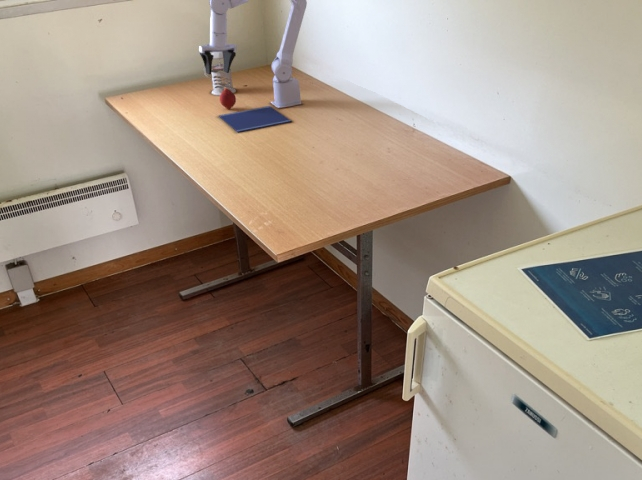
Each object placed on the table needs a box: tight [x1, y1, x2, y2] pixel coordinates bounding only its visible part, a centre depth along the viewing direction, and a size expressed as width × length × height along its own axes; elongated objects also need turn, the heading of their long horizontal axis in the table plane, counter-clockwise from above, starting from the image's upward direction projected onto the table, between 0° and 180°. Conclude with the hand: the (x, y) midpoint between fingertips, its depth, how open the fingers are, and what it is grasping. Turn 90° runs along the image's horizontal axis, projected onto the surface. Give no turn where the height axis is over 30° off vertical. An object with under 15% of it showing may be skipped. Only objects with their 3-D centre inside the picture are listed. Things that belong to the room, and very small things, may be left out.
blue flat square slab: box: [218, 105, 292, 134], centre depth 236 cm, size 20×20×1 cm
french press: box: [202, 51, 237, 96], centre depth 257 cm, size 10×12×25 cm
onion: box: [219, 87, 237, 110], centre depth 244 cm, size 6×6×8 cm
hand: (217, 73), depth 237 cm, fingers open, 7 cm apart
